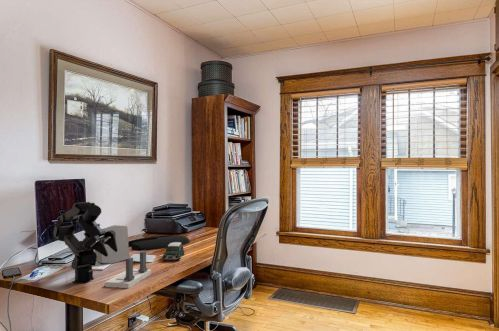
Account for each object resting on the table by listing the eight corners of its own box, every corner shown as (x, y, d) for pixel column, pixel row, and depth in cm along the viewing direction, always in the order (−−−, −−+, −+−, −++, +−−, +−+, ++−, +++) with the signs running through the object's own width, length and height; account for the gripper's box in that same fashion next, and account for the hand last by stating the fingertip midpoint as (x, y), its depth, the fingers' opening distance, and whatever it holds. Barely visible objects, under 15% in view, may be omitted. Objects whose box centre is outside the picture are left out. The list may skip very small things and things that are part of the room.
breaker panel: (104, 286, 141) (104, 281, 141) (129, 272, 160) (129, 268, 160) (128, 288, 139) (128, 283, 139) (150, 273, 158) (150, 269, 158)
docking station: (196, 244, 223) (196, 237, 223) (135, 252, 200) (135, 244, 200) (181, 238, 244) (181, 231, 244) (124, 245, 221) (124, 237, 221)
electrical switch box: (118, 259, 193) (116, 224, 195) (129, 260, 182) (127, 223, 185) (92, 264, 183) (90, 227, 185) (102, 265, 172) (100, 226, 174)
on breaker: (138, 271, 153) (138, 252, 153) (142, 269, 157) (142, 250, 157) (143, 272, 153) (143, 252, 153) (147, 269, 156) (147, 250, 156)
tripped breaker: (124, 280, 141) (124, 259, 142) (128, 277, 145) (128, 257, 145) (130, 280, 141) (130, 259, 141) (134, 278, 144) (134, 257, 145)
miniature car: (162, 262, 178) (162, 247, 179) (169, 254, 196) (169, 240, 197) (178, 262, 178) (178, 247, 179) (184, 254, 196) (184, 240, 197)
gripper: (87, 235, 156) (108, 260, 155) (63, 242, 137) (87, 271, 136) (105, 219, 156) (126, 245, 155) (83, 224, 137) (107, 253, 136)
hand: (112, 253), depth 146 cm, fingers open, 9 cm apart
